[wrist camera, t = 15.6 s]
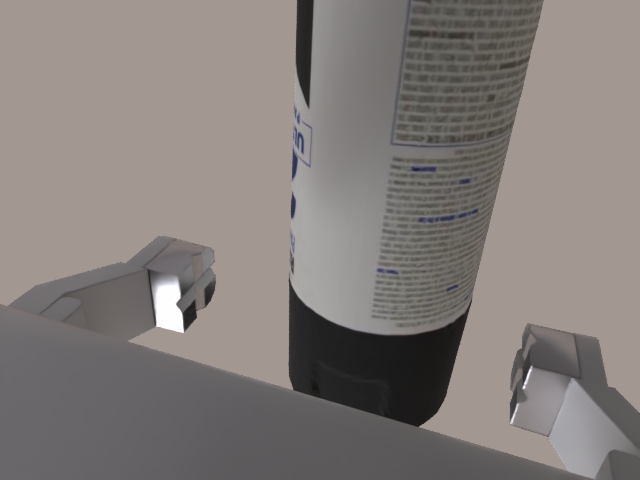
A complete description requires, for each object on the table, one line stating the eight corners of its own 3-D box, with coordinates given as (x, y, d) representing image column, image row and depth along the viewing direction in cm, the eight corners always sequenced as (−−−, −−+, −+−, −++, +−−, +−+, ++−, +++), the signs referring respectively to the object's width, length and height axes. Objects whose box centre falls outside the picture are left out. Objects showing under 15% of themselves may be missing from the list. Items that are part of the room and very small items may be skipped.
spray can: (251, -326, 10) (256, 406, 20) (644, -354, 8) (431, 467, 19) (354, -236, 16) (317, 307, 26) (606, -240, 14) (458, 346, 24)
